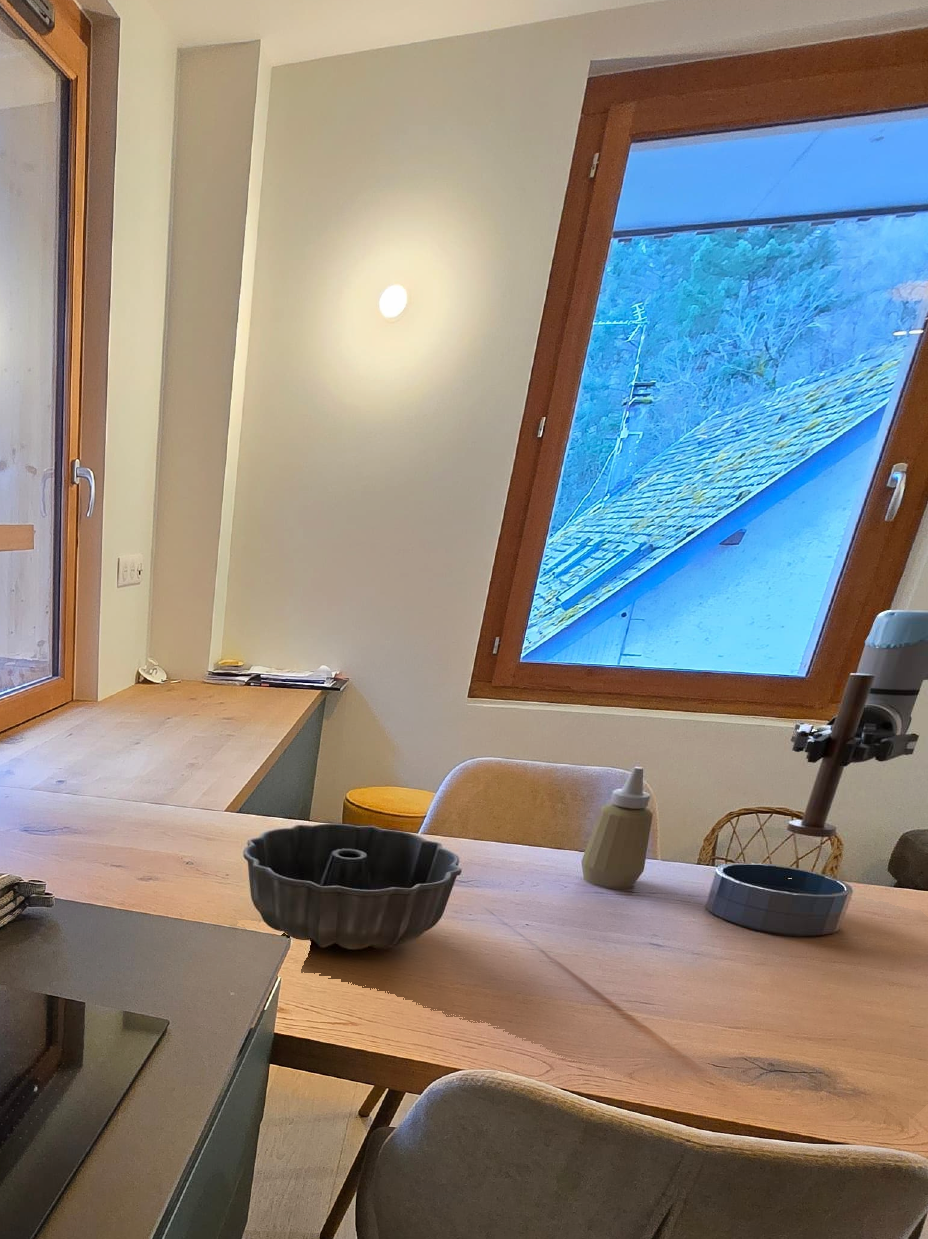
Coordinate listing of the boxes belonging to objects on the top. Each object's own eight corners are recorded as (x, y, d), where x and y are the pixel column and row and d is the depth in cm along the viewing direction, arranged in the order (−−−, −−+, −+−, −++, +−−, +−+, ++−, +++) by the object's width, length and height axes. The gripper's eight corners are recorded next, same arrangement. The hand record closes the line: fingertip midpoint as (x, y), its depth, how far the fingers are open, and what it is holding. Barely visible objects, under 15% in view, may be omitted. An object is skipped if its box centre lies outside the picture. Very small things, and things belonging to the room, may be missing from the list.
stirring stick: (844, 837, 123) (900, 676, 116) (805, 837, 123) (859, 676, 115) (814, 827, 128) (866, 672, 120) (777, 827, 128) (826, 672, 120)
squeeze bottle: (578, 893, 139) (609, 772, 132) (572, 875, 146) (602, 758, 138) (642, 900, 137) (677, 777, 129) (633, 881, 143) (666, 763, 136)
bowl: (866, 940, 122) (882, 896, 120) (754, 941, 122) (768, 896, 120) (781, 903, 136) (794, 862, 133) (679, 903, 135) (691, 862, 133)
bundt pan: (195, 918, 128) (200, 847, 124) (321, 874, 142) (329, 809, 138) (362, 989, 109) (375, 908, 105) (488, 931, 123) (504, 857, 119)
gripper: (924, 767, 129) (900, 793, 114) (785, 751, 139) (746, 774, 124) (945, 710, 126) (923, 730, 111) (801, 699, 136) (763, 715, 121)
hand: (830, 753), depth 118 cm, fingers closed on stirring stick, 2 cm apart
